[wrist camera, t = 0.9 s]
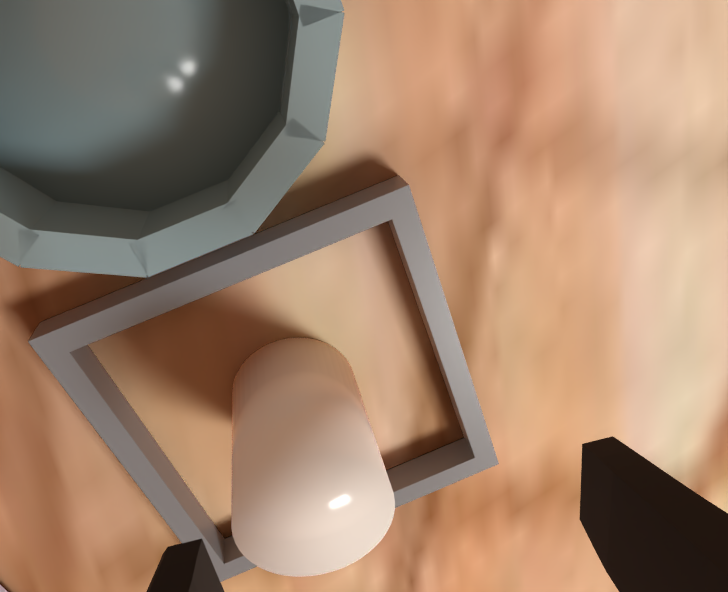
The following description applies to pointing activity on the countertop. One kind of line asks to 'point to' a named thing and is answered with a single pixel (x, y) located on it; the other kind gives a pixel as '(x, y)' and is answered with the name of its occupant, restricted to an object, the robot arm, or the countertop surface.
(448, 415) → the countertop surface
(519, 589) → the countertop surface
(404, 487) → the empty gray rectangular frame
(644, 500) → the robot arm
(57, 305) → the countertop surface
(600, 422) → the countertop surface
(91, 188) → the bowl
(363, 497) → the pestle
